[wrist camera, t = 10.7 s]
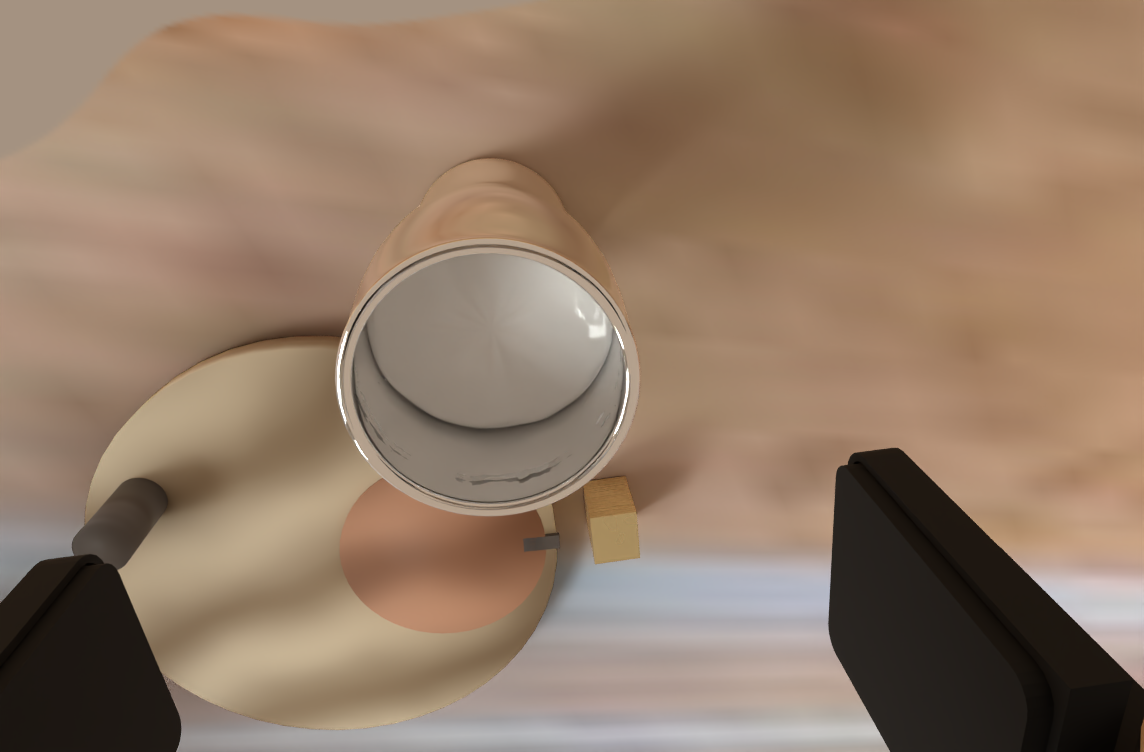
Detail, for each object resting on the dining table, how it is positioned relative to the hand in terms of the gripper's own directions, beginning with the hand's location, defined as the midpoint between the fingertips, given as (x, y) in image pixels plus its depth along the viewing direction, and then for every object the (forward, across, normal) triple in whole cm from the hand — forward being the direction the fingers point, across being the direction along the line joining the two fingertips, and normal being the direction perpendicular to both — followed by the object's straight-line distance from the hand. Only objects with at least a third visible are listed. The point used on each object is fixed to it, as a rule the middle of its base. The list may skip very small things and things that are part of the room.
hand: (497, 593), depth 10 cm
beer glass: (+22, 0, 0) cm, 22 cm away
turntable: (+22, +9, +13) cm, 27 cm away
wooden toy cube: (+22, -3, +13) cm, 26 cm away
